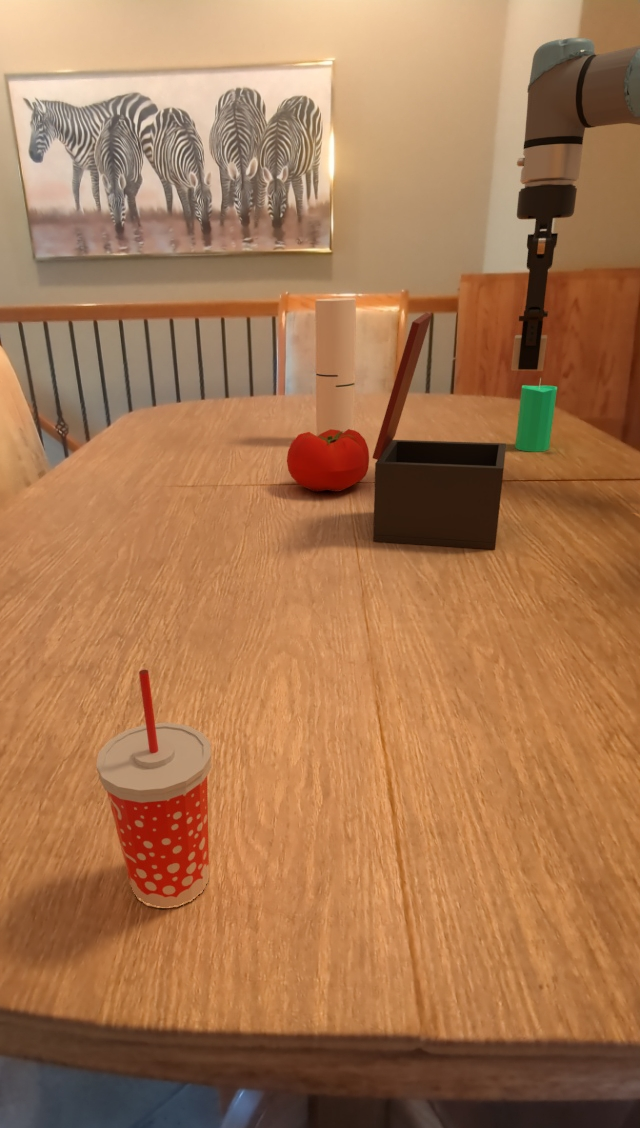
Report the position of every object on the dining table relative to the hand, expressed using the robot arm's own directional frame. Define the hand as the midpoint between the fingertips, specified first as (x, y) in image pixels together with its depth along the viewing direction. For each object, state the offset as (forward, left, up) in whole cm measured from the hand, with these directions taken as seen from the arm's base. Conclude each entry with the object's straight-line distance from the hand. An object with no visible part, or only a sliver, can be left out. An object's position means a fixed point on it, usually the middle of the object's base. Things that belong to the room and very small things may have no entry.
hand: (528, 366), depth 113 cm
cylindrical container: (+33, -18, -17) cm, 41 cm away
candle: (-3, -19, -17) cm, 25 cm away
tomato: (+27, +13, -17) cm, 35 cm away
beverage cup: (+18, +95, -17) cm, 98 cm away
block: (0, 0, 0) cm, 0 cm away
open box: (+9, +29, -16) cm, 35 cm away
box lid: (+14, +29, +1) cm, 32 cm away
